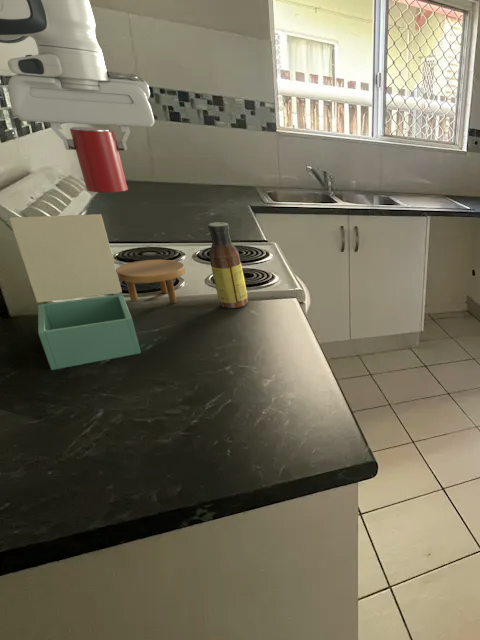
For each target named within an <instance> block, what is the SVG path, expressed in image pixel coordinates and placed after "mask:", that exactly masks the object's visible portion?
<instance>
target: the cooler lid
mask: <svg viewBox="0 0 480 640" xmlns="http://www.w3.org/2000/svg"><path fill="white" fill-rule="evenodd" d="M8 220H9V223H10V226H11V229H12V231H13V235H14V237H15V242H16V243H17V246H18V249H19V253H20V256H21V258H22V259H21V260H22V261H23V265H24V267H25V271H26V273H27V276H28V280H29V283H30V286H31V289H32V292H33V295H34V298H35V302H36V303H37V304H39V303H47V302H54V301H63V300H64V301H65V300H71V299H72V300H73V299H79V298H89V297H95V296H96V297H98V296H105V295H114V294H120V293H121V294H122V293H123V290H122V287H121V282H120V279H119V278H118V275H117V272H116V269H117V267H116V264H115V261H114V257H113V253H112V250H111V246H110V242H109V238H108V234H107V231H106V227H105V222H104V220H103V215H102V213H99V214H98V213H96V214H95V213H94V214H93V213H92V214H69V215H67V214H66V215H46V216H45V215H43V216H22V217H21V216H19V217H17V216H16V217H14V216H13V217H9V218H8Z"/></svg>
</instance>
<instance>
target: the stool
mask: <svg viewBox="0 0 480 640" xmlns="http://www.w3.org/2000/svg"><path fill="white" fill-rule="evenodd" d="M116 272H117V275H118V279H119V281H123V282H125V283H126V287H127V291H128V295H129V299H130V301H131V302H136V301H137V302H139V297H138V293H137V288H136V284H149V283H159V287H160V288H159V289H160V292H161V294H162V293H166V294H167V295H168V300H169V304H177V303H178V300H177V295H176V291H175V287H174V282H173V281H174V279H177V278H180V277H182V276H183V275H185V273H186V268H185V265H184V263H182V262H180V261H177V260H172V259H145V260H136V261H132V262H128V263H124V264H122V265H120V266H118V267H116Z"/></svg>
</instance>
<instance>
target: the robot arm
mask: <svg viewBox="0 0 480 640" xmlns="http://www.w3.org/2000/svg"><path fill="white" fill-rule="evenodd" d="M90 2H91V1H90V0H0V43H1V44H17V43H20V42H23V41H25V40H26V39H28V38H32V39H33V40H34V41H35V44H36V47H37V51H38V52H37V54H26V55H25V56H21V57H20V56H19V57H14V58H10V59H8V60H7V67H8V68H9V71H10V72H11V73H13V74H14V75H12V76H11V77H10V78H9V80H8V83H7V84H8V85H7V88H8V97H9V102H10V107H11V110H12V114H13V116H14V117H15V118H16V119H18V120H19V121H21V122H32V123H33V122H36V123H49V124H50V127H51V130H52V131H53V132H54V133H55V134H56V135H57V136H58V137H59V138H60V139H61V140H62V141H63V145H64V148H65V150H66V151H69V150H70V151H76V148H75V146H74V141H73V139H72V138H67V136H65V135H64V134H63V133H62V131H61V130H62V129H63V128H62V124H76V125H77V124H79V125H80V124H81V125H99V126H100V125H101V126H118V128H119V131H120V132H121V133H122V134H121V137H120V140H119V139H118V140H117V139H116V143H117V147H118V151H119V152H128V146H127V141H128V138H129V136H130V134H131V130H130V127H140V128H144V127H145V128H151V127H153V126H154V124H155V122H156V121H155V117H154V114H153V110H152V107H151V104H150V102H149V99H150V98H151V91H150V88H149V84H148V82H147V81H146V80H145V79H143V78H142V77H140V76H138V75H137V74H135V73H122V72H117V71H109V70H107V67H106V64H105V63H106V62H105V59H104V54H103V51H102V48H101V47H100V44H99V42H98V40H97V36H96V28H97V27H96V20H95V16H94V13H93V9H92V7H91V3H90Z"/></svg>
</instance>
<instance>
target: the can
mask: <svg viewBox="0 0 480 640" xmlns="http://www.w3.org/2000/svg"><path fill="white" fill-rule="evenodd" d="M69 131H70V135H71V139H73V141H74V146H75V148H76V150H75V153H76V156H77V160H78V164H79V166H80V171H81V174H82V177H83V182H84V185H85V189H86V191H87V192H91V193H121V192H126V191H128V190H129V187H128V185H127V180H126V177H125V172H124V168H123V164H122V159H121V156H120V151H118V147H117V143H116V140H117V139H116V136H115V131H114V130H112V129H111V128H105V127H90V126H73V127H71V128H69Z"/></svg>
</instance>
